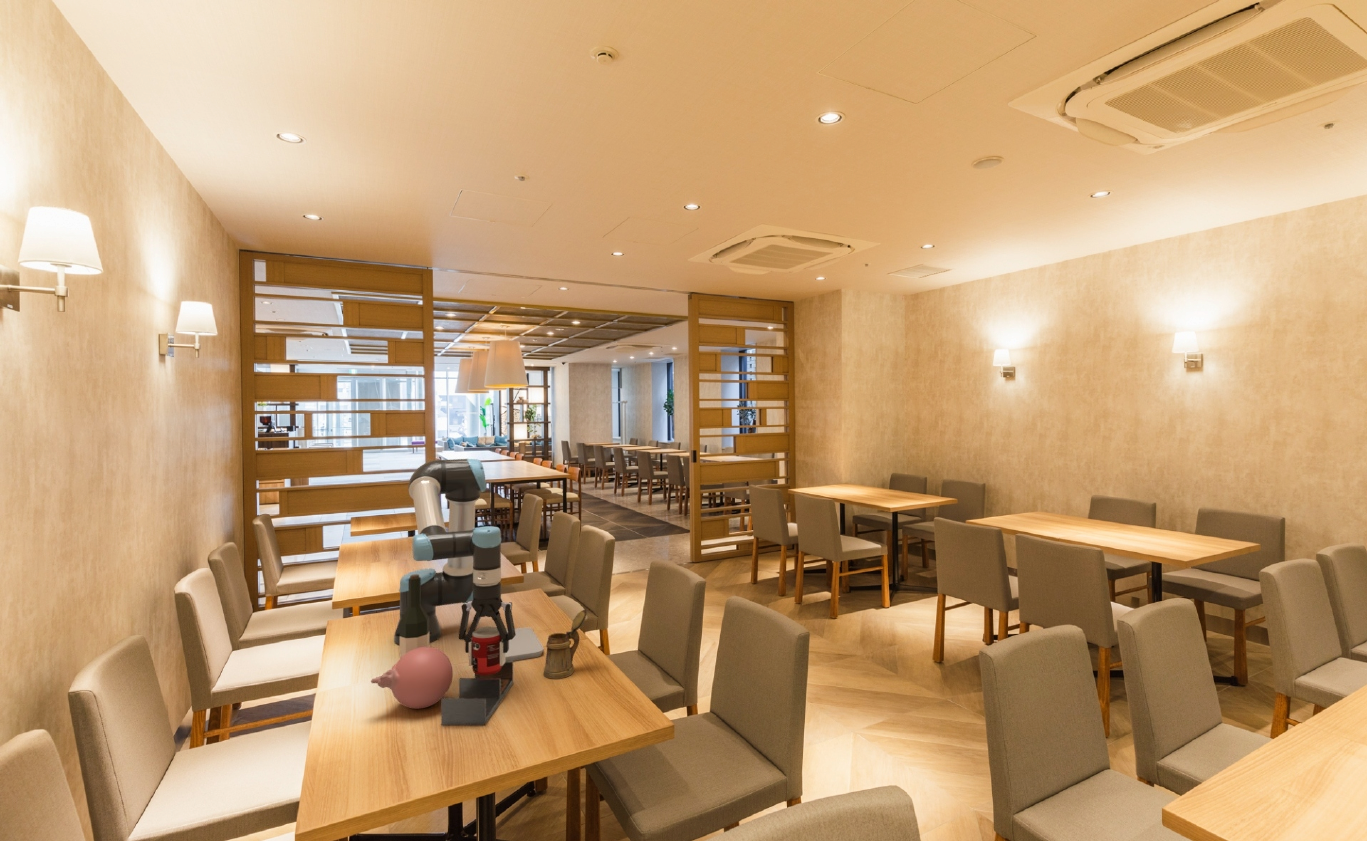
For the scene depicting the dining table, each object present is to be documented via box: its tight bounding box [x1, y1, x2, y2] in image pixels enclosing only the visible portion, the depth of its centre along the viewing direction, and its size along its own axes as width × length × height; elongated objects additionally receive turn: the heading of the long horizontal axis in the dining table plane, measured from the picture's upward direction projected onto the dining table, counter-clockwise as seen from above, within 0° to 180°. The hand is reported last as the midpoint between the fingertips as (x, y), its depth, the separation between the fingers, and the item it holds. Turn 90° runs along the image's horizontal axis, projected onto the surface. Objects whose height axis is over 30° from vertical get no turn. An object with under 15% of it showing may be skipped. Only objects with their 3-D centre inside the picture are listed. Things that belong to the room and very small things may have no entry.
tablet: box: [505, 626, 545, 662], centre depth 207 cm, size 16×26×2 cm, turn 24°
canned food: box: [471, 626, 502, 675], centre depth 172 cm, size 8×8×11 cm
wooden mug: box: [542, 608, 588, 680], centre depth 187 cm, size 9×14×18 cm, turn 118°
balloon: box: [370, 646, 454, 709], centre depth 163 cm, size 15×20×15 cm
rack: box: [440, 661, 514, 726], centre depth 166 cm, size 25×11×8 cm, turn 179°
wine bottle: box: [399, 574, 430, 659], centre depth 184 cm, size 8×8×30 cm
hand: (487, 663), depth 172 cm, fingers closed on canned food, 8 cm apart
